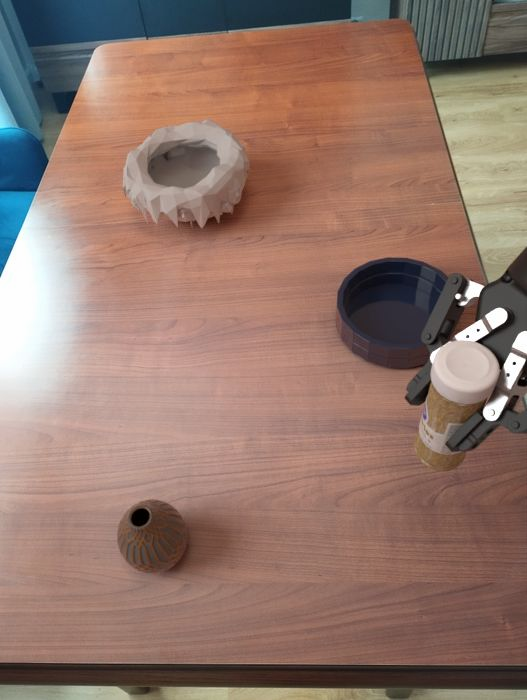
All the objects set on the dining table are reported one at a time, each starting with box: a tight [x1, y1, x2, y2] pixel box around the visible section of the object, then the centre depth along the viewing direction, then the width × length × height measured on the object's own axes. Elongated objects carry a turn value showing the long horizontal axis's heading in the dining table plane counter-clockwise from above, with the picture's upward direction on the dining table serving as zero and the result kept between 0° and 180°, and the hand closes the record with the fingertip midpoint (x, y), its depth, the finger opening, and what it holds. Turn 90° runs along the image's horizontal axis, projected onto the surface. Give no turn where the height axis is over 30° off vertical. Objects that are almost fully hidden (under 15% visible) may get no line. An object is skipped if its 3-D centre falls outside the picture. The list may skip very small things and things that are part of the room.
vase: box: [116, 498, 189, 574], centre depth 59 cm, size 7×7×9 cm
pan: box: [335, 256, 461, 369], centre depth 76 cm, size 16×16×4 cm
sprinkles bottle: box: [413, 340, 501, 473], centre depth 47 cm, size 5×5×14 cm
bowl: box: [122, 118, 251, 229], centre depth 93 cm, size 21×20×10 cm
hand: (432, 424), depth 46 cm, fingers closed on sprinkles bottle, 4 cm apart
